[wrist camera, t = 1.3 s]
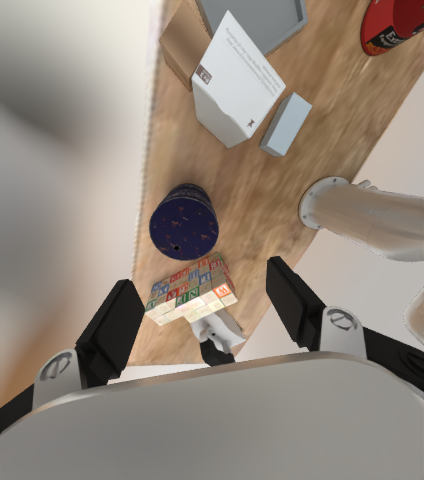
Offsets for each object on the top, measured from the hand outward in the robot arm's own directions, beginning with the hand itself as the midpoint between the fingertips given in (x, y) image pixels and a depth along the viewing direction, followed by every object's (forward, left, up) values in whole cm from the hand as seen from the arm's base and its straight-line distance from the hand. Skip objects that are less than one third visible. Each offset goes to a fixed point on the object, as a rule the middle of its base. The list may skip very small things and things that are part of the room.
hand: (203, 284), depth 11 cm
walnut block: (-11, -19, -27) cm, 35 cm away
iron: (+18, +38, -27) cm, 50 cm away
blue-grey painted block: (-21, -3, -27) cm, 34 cm away
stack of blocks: (+14, +17, -27) cm, 35 cm away
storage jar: (+2, 0, -27) cm, 27 cm away
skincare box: (-12, -10, -27) cm, 31 cm away
